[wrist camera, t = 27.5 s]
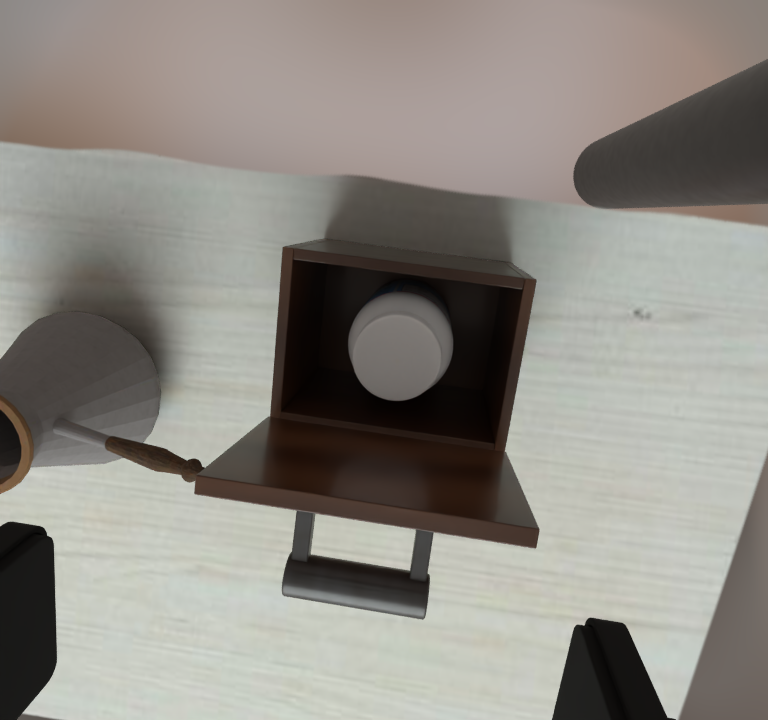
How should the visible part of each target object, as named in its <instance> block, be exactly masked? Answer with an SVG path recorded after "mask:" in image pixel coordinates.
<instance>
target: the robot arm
mask: <svg viewBox="0 0 768 720" xmlns="http://www.w3.org/2000/svg"><path fill="white" fill-rule="evenodd" d="M56 663H57V644H56V608H55V572H54V543H53V540H52V538H51V537H49V536H47V532H46V531H45V529H44V528H43V527H41V526H35V525H29V524H23V523H17V522H7V523H5V524H3V525H2V526H0V720H17V719H18V717H19V716H20V715H21V714H22V713H23V712H24V710H25V709H26V708H27V707H28V706H29V704H30V703H31V702H32V701H33V700H34V698H35V697H36V696H37V695H38V694H39V693H40V691H41V690H42V689H43V688H44V687H45V685H46V684H47V683H48V681H49V680H50V678H51V677H52V675H53V672H54V670H55V667H56ZM552 720H676V719H672V718H667V716H666V714H665V711H664V709H663V707H662V705H661V702H660V700H659V698H658V696H657V693H656V691H655V689H654V687H653V684H652V682H651V680H650V678H649V676H648V673H647V671H646V669H645V667H644V664H643V662H642V660H641V658H640V655H639V653H638V651H637V649H636V646H635V644H634V642H633V640H632V638H631V635H630V633H629V631H628V629H627V627H626V625H625V624H623V623H620V622H614V621H608V620H602V619H596V618H588V619H587V621H586V623H585V626H583V625H576V626H575V628H574V631H573V634H572V638H571V643H570V647H569V651H568V655H567V659H566V664H565V668H564V672H563V676H562V680H561V684H560V689H559V693H558V697H557V701H556V705H555V710H554V714H553V718H552Z"/></svg>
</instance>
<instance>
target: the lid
mask: <svg viewBox="0 0 768 720" xmlns="http://www.w3.org/2000/svg"><path fill="white" fill-rule="evenodd" d="M194 493H195V494H196V495H202V496H209V497H215V498H221V499H227V500H234V501H240V502H246V503H252V504H259V505H265V506H271V507H278V508H284V509H290V510H296V511H297V513H296V521H295V530H294V539H293V548H292V552H291V553H290V555H289V557H288V560H287V563H286V567H285V571H284V576H283V582H282V594H283V595H284V596H287V597H293V598H299V599H305V600H311V601H316V602H322V603H328V604H334V605H340V606H346V607H352V608H358V609H364V610H370V611H376V612H381V613H387V614H393V615H399V616H405V617H411V618H417V619H424V618H425V615H426V610H427V603H428V595H429V585H430V575H429V574H427V573H428V566H429V559H430V553H431V546H432V539H433V533H441V534H447V535H453V536H459V537H466V538H472V539H478V540H485V541H491V542H497V543H503V544H510V545H516V546H522V547H528V548H536V547H537V541H538V536H539V527H538V525H537V523H536V520H535V518H534V516H533V513H532V511H531V509H530V506H529V504H528V502H527V500H526V497H525V495H524V493H523V490H522V488H521V486H520V483H519V481H518V479H517V476H516V474H515V472H514V470H513V467H512V465H511V463H510V460H509V458H508V456H507V453H506V452H503V451H496V450H489V449H483V448H476V447H469V446H463V445H456V444H449V443H442V442H436V441H429V440H422V439H416V438H409V437H402V436H396V435H389V434H382V433H375V432H369V431H362V430H355V429H349V428H342V427H335V426H329V425H322V424H315V423H309V422H302V421H295V420H288V419H282V418H275V417H267V418H266V419H265V420H263V421H262V422H261V423H260V424H259V425H257V426H256V427H255V428H254V429H252V430H251V431H250V432H249V433H247V434H246V435H245V436H244V437H243V438H241V439H240V440H239V441H238V442H236V443H235V444H234V445H233V446H232V447H230V448H229V449H228V450H227V451H225V452H224V453H223V454H222V455H220V456H219V457H218V458H217V459H216V460H214V461H213V462H212V463H211V464H209V465H208V466H207V467H206V468H204V469H203V470H202V471H201V472H200V473H198V474H197V475H196V481H195V492H194ZM315 514H321V515H328V516H334V517H340V518H347V519H353V520H359V521H365V522H372V523H378V524H384V525H390V526H397V527H403V528H409V529H416V534H415V541H414V547H413V554H412V561H411V568H410V571H409V570H402V569H396V568H390V567H384V566H378V565H372V564H366V563H360V562H354V561H348V560H342V559H335V558H329V557H323V556H317V555H311V546H312V538H313V529H314V521H315Z"/></svg>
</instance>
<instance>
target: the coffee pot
mask: <svg viewBox="0 0 768 720" xmlns="http://www.w3.org/2000/svg"><path fill="white" fill-rule="evenodd" d="M160 396H161V389H160V383H159V378H158V373H157V370H156V368H155V366H154V364H153V361H152V359H151V357H150V355H149V354H148V352H147V351H146V350H145V348H144V347H143V346H142V344H141V343H140V342H139V340H138V339H136V338H135V337H134V336H133V335H132V334H130V333H129V332H128V331H127V330H126V329H124V328H123V327H121V326H119V325H117V324H115V323H113V322H111V321H109V320H107V319H105V318H103V317H101V316H98V315H94V314H89V313H84V312H79V311H74V312H59V313H54V314H52V315H49V316H46V317H44V318H41V319H38V320H37V321H35V322H34V323H33V324H32V325H30V326H29V327H28V328H26V329H25V330H24V331H23V332H22V333H21V334H20V335H19V336H18V338H17V339H16V340H15V341H14V343H13V344H12V345H11V347H10V348H9V349H8V350H7V352H6V353H5V354H4V356H3V357H2V358H1V359H0V494H1V493H3V492H5V491H8V490H10V489H12V488H13V487H14V486H16V485H17V484H19V483H20V482H21V481H22V480H23V478H24V477H25V476H26V474H27V473H28V472H29V470H30V467H48V466H68V465H87V464H105V463H108V462H111V461H115V460H118V459H121V458H126V459H128V460H131V461H133V462H135V463H138V464H140V465H142V466H145V467H147V468H149V469H152V470H154V471H157V472H166V473H173V474H179V475H182V478H183V479H184V480H185V481H187V482H193V481H195V480H196V475H197V474H198V473H200V472H201V471H202V470H203V469H204V467H202V465H201V462H200V461H199V460H197V459H189V460H188V461H187V460H185V459H183V458H181V457H179V456H177V455H175V454H173V453H172V452H170V451H168V450H167V449H164V448H161V447H157V446H152V445H148V444H144V443H143V442H144V441H145V440H146V438H147V437H148V436H149V435H150V433H151V432H152V430H153V427H154V425H155V422H156V420H157V417H158V415H159V406H160Z"/></svg>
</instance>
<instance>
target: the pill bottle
mask: <svg viewBox="0 0 768 720" xmlns="http://www.w3.org/2000/svg"><path fill="white" fill-rule="evenodd" d="M348 350H349V356H350V360H351V362H352V365H353V368H354V371H355V374H356V376H357V378H358V379H359V381H360V382H361V384H362V385H363V386H364V387H365V388H366V389H367V390H368V391H369V392H371V393H372V394H374V395H376V396H378V397H380V398H382V399H386V400H391V401H403V400H408V399H411V398H414V397H417V396H418V395H420V394H422V393H423V392H425V391H426V390H427V389H429V388H431V387H432V386H433V385H435V384H436V383H437V382H438V381H439V380H440V379H441V377H442V376H443V375H444V373H445V372H446V370H447V368H448V366H449V364H450V361H451V358H452V354H453V334H452V327H451V320H450V315H449V311H448V308H447V305H446V303H445V301H444V299H443V298H442V296H441V295H440V294H439V293H438V292H437V291H436V290H435V289H434V288H433V287H432V286H430V285H428V284H427V283H424V282H422V281H419V280H415V279H398V280H394V281H391V282H389V283H387V284H385V285H383V286H382V287H380V288H379V289H378V290H377V291H376V292H375V293H374V294H373V295H372V296H371V298H370V299H369V300H368V301H367V303H366V304H365V305H364V306H363V308H362V309H361V310H360V312H359V313H358V314H357V316H356V318H355V320H354V322H353V324H352V326H351V329H350V332H349V338H348Z"/></svg>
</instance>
